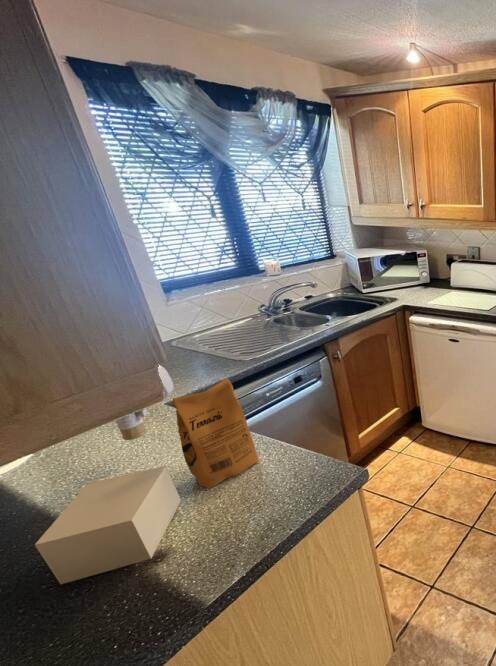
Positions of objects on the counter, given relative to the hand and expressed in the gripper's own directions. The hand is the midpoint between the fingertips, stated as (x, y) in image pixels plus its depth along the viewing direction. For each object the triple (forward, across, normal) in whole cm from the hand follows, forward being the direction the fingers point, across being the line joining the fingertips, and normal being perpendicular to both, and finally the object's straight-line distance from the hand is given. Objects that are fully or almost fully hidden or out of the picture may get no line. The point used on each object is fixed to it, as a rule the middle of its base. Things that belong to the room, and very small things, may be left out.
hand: (128, 418), depth 94 cm
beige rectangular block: (+11, +8, -30) cm, 33 cm away
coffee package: (+11, +22, -15) cm, 28 cm away
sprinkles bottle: (+5, 0, 0) cm, 5 cm away
